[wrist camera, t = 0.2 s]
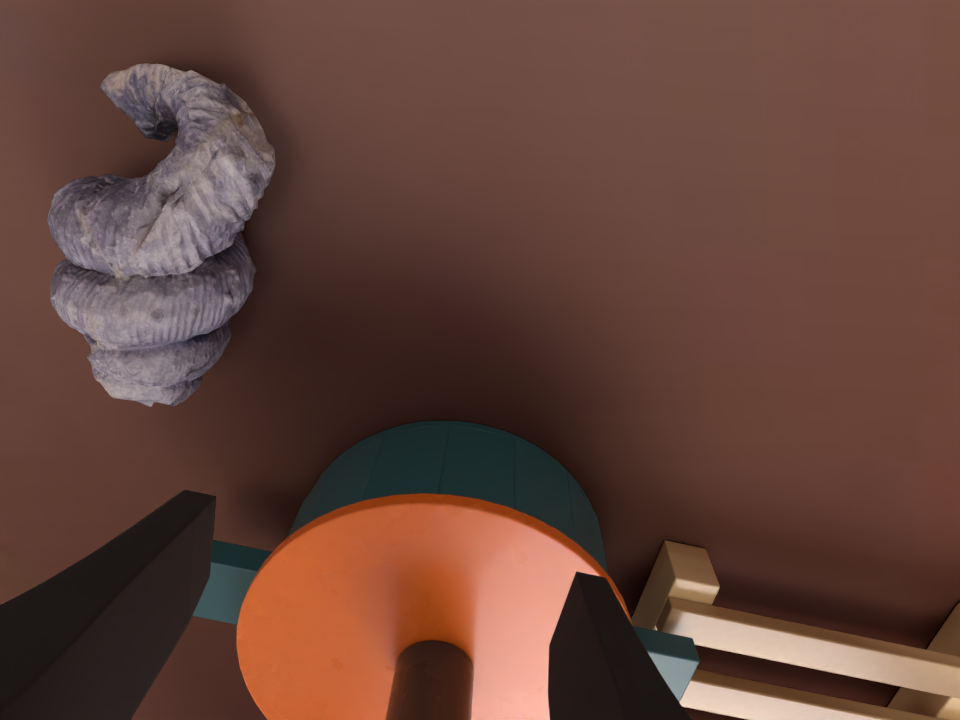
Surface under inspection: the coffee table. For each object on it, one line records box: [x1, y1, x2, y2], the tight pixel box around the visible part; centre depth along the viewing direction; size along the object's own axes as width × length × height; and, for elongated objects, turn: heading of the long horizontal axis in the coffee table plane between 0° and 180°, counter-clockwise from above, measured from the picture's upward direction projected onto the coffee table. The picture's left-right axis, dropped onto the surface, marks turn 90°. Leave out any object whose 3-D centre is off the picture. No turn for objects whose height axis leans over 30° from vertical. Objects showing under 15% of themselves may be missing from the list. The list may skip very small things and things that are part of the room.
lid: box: [237, 493, 632, 720], centre depth 20 cm, size 12×12×4 cm
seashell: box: [47, 63, 275, 407], centre depth 19 cm, size 5×5×10 cm
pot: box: [192, 421, 700, 702], centre depth 24 cm, size 11×17×5 cm
